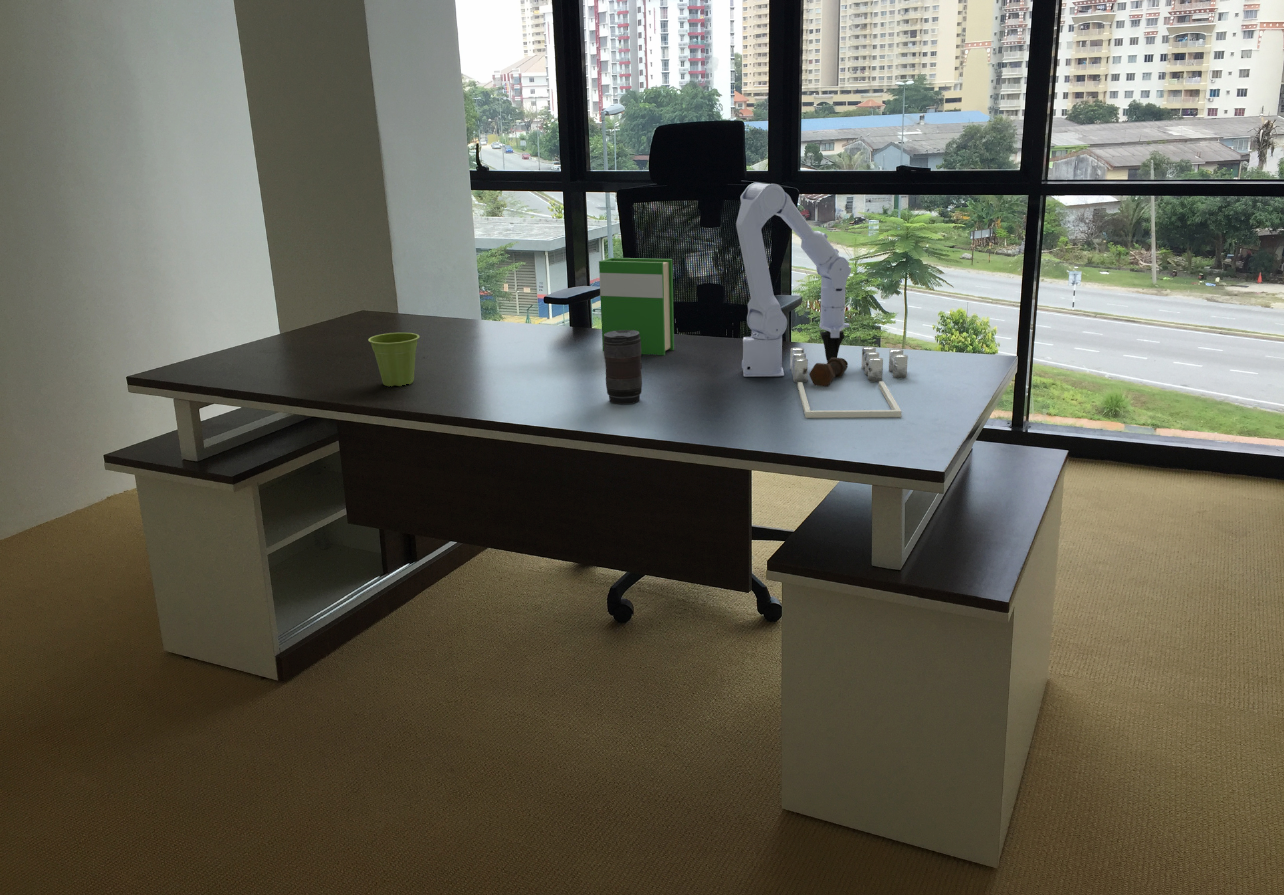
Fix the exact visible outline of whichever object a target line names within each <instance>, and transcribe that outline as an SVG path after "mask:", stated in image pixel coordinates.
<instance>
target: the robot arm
mask: <svg viewBox="0 0 1284 895" xmlns="http://www.w3.org/2000/svg"><path fill="white" fill-rule="evenodd" d="M773 216H778V217H780V218H781V219H782V220H783V221H784V222H785V224H787V225H788V227H789V228H790V229H791V230H792V231H793V232H794V233H795V235H797V237H799V239H800V240H801V244H800V247H801V249H802V250H803V252H804V253H805V254H806V256H807V257H808V258H809V259H810V260H811V262H812V263H813V264H814V265H815V267H816V273H817V275H819V276H820V277H821V279H820V280H821V284H820V316H819V317H820V323H819V326H818V327H819V329H822V330H823V331H820V332H819V334H820V337H821V340H822V342H823V346H824V353H825V359H826V363H827V362H828V361H829V359H830V358H838V354H839V350H840V347H841V344H842V342H843V339H844V338H845V333H844V331H843V330H844V329H846V328H850V323H847V322H845V316H846V314H845V311H846V286H847V279H848V278H849V276H850V274H852V273H851V272H852V267H850V265H849V264H850V263H849V261H848V259H846V258H845V257H843V256H839V254H840V251H839V250H838V248H834V246H833V245H832V244H831V242H829V240H828V238H829V236H828V235H827V233H825V232H822V231H819V230H814V229H813V228H812V227H811V225H810V224H809V223H808V222H807V220H806V218H805V217H804V216H803V215H802V213H801V212H800V210H799V209H798V208H797V206H796V204H794V202H793V200H792V198H791V196H790V195H789V194H788V193H787V192H785V190H784V189H783V187H782V186H781V185H780V184H777V183H771V184H770V183H762V182H758V181H757V182H756V181H755V182H753V183H752V182H751V184H749V185H748V186H747V187H746V188H745V189H744V191H743V192H742V193H741V195H740V206H739V210H738V215H737V219H736V224H735V225H736V232H737V236H738V241H739V246H740V250H741V257H742V260H743V264H744V265H743V266H744V270H745V271H744V272H745V276H746V279H747V280H746V281H747V285H748V291H749V295H750V300H749V301H748V303H747V315H746V323H747V326H748V327H749V329H750V330H751V335H750V336H743V338H742V360H741V368H742V371H743V372H742V374H743V375H742V376H743V377H745V378H746V377H748V378H749V377H784V376H785V373H784V369H783V367H782V363H783V361H782V360H783V357H782V356H783V347H782V346H783V334H785V332H786V331H787V326H788V319H787V316H786V314H784V312H783V311H782V308H781V304H780V302H779V301H778V299H777V298H776V297H775V295H774V291H773V290H774V289H773V285H772V284H773V283H772V279H771V278H772V277H771V274H770V269H769V265H768V264H769V263H768V259H767V254H766V248H765V243H764V238H763V233H762V229H763V227H764V226H765V224H766V223H767V221H768V220H769V219H771V218H772V217H773ZM824 330H825V331H824Z"/></svg>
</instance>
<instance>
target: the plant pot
mask: <svg viewBox="0 0 1284 895" xmlns="http://www.w3.org/2000/svg"><path fill="white" fill-rule="evenodd" d="M419 338H420V335H419V334H417V333H413V332H389V333H383V334H377V335H374V336H371V337H369V338H368V342H369V343H370V345H371V348H372V351H373V353H374V356H375V359H376V364H377V366H378V370H379V373H380V377H381V381H382V384H383V385H384V386H385V387H386V386H387V387H390V386H391V387H394V386H397V387H403V386H402V385H405V386H407V385H406V384H409V385H411V384H413V382H414V381H415V366H416V365H415V364H416V352H417V347H418V339H419Z"/></svg>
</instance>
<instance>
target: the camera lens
mask: <svg viewBox="0 0 1284 895" xmlns="http://www.w3.org/2000/svg"><path fill="white" fill-rule="evenodd" d="M603 340H604V341H603V345H604V352H603V356H604V357H603V358H604V363H605V364H604V366H605V387H606V393H607V395H608V400H609V402H610V403H613V404H616V405H630V404H636V403H638V402H640V400H641V398H640V397H641V394H642V392H643V391H642V389H643V388H642V387H643V381H642V380H643V377H642V369H643V367H642V366H643V365H642V360H641V359H642V354H641V339H640V335H639V332H638V331H634V330H618V331H611V332H608V333H605V334H604V339H603Z"/></svg>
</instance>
